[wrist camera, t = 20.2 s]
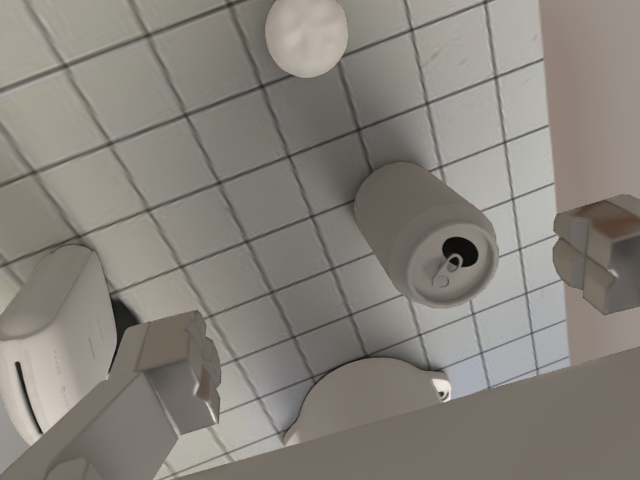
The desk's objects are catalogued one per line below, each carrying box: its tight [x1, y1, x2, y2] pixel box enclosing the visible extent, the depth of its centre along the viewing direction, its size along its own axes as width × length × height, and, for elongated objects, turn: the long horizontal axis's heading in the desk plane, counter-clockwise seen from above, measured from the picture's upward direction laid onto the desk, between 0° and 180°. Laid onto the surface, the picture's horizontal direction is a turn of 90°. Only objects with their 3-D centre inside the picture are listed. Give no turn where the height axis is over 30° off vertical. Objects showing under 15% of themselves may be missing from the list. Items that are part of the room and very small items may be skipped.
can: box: [354, 162, 499, 309], centre depth 34 cm, size 8×8×12 cm
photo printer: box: [0, 245, 117, 446], centre depth 33 cm, size 10×4×12 cm, turn 179°
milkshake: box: [265, 0, 348, 78], centre depth 27 cm, size 4×5×10 cm
